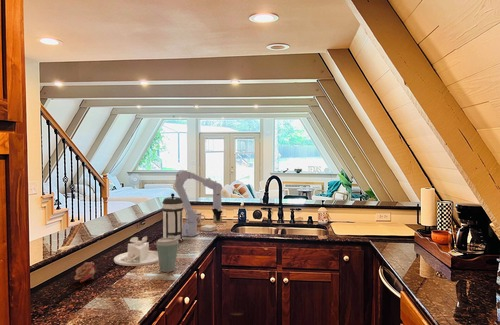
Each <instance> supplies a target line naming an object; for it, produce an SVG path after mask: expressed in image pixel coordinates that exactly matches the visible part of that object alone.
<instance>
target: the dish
mask: <svg viewBox="0 0 500 325" xmlns="http://www.w3.org/2000/svg"><path fill="white" fill-rule="evenodd" d="M147 240H148V236H147V235H146V236H143V237H142V239H141V240H139V237H137V236H134V237H131V238H130V239H129V242H130V243H127V252H124V253H120V254H118V255H116V256H114V258H113V262H114V263H115V264H116V265H119V266H127V267H133V266H134V267H138V266H146V265H152V264H156V263H157V262H158V263H159V258H158V252H157V250H149V249H150V244H149V243H150V241H148V242H147Z"/></svg>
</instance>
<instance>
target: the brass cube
mask: <svg viewBox="0 0 500 325" xmlns="http://www.w3.org/2000/svg"><path fill="white" fill-rule="evenodd" d="M212 220H213V221H212V222H213V224H215V225H217V224H223V217H222V215H221V217H220V221H217V220H216V215H214V214H213V215H212Z"/></svg>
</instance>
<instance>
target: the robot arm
mask: <svg viewBox="0 0 500 325" xmlns="http://www.w3.org/2000/svg"><path fill="white" fill-rule="evenodd" d="M188 179H189V180H190V179H191V180H192V179H193V180H194V181H197V182H200V183H202V185H203V186H204V187H206V188H208V189H210V190H212V209H211V211H212V213H213V215H216V220H217V221H220V217H221V216H222V213H223V210H222V208H224V206H223V205H222V190H223V186H222V183H219V182H217V181H216V180H212V178H210V177H205V178H204V177H202V176H200V175H198V174H196V173H194V172H191V171H187V170H184V169H180V170H179V171H178V172H177V173H176V175H175V181H174V187H175V189H176V192H177V195H178V197H179V198H181V199H182V201H183V210H184V212H185V219H186V220H185V223H183V236H184V237H185V236H186V237H189V238H190V237H195V236H197V235H200V232H198V226H197V214H196V213H195V212H194V210H195V209H193V207H192V205H191V202H190V200H189V198H188V195H187V192H186V190H185V188H184V184H185V182H186V181H187V180H188Z"/></svg>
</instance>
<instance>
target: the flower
mask: <svg viewBox="0 0 500 325" xmlns="http://www.w3.org/2000/svg"><path fill="white" fill-rule="evenodd" d="M96 270H97V268H96V267H95V263H94V262H93V261H90V262H84V263H83V264H82V265H80V266H79V267H77V268H76V270H75V273H76V275H74V277H73V278H74V280H76V281H77V280H79V283H84V282H86V281H87V280H89V279H90V278H91V280H94V279H95V277H94V275H95V273H96Z"/></svg>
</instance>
